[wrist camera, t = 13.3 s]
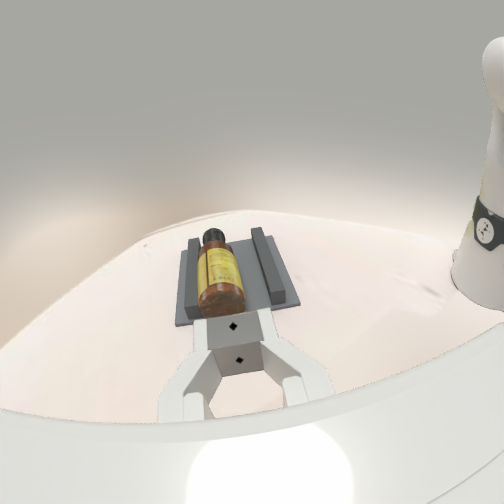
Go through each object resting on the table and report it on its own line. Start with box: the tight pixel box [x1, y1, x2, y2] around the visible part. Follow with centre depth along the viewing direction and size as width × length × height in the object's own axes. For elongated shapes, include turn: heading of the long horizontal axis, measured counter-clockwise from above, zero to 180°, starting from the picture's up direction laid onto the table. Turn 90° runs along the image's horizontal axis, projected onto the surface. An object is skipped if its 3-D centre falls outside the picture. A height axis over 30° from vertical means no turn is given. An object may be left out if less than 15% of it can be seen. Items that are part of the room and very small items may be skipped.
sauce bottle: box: [197, 228, 246, 319], centre depth 44 cm, size 7×6×20 cm
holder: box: [175, 227, 300, 327], centre depth 47 cm, size 18×20×3 cm
